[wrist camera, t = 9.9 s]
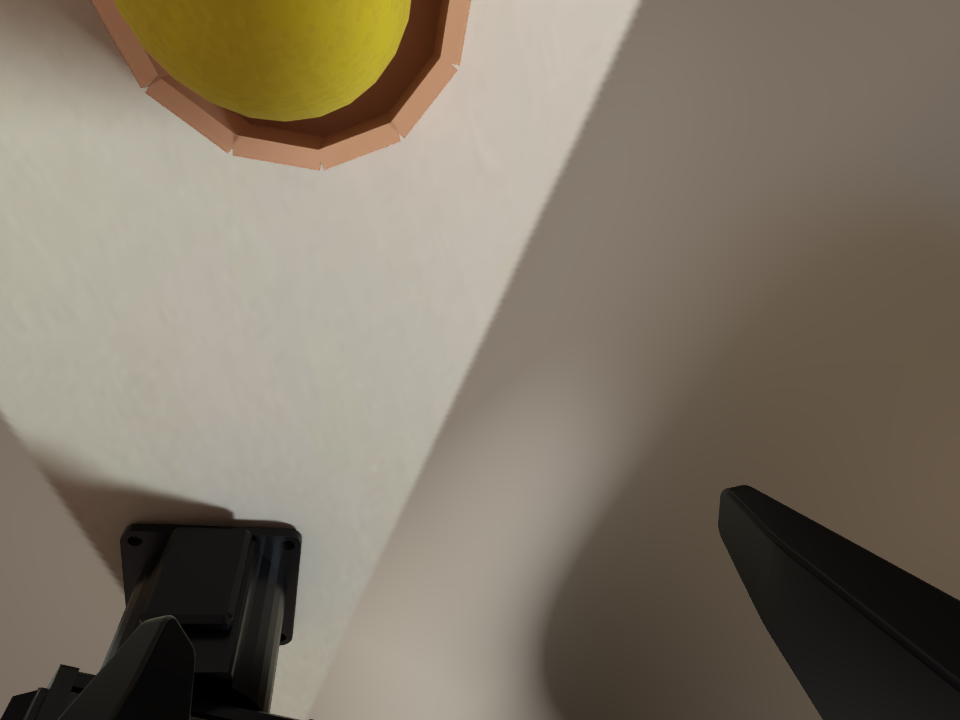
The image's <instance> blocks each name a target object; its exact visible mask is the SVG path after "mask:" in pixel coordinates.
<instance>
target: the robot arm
mask: <svg viewBox="0 0 960 720" xmlns="http://www.w3.org/2000/svg"><path fill="white" fill-rule="evenodd" d="M718 528H719V533H720V536H721V538H722V541H723V543H724V545H725V547H726V549H727V551H728V553H729V555H730V557H731V559H732V561H733V563H734V565H735V567H736V569H737V571H738V573H739V576H740V578H741V580H742V582H743V584H744V586H745V588H746V590H747V592H748V594H749V596H750V598H751V600H752V602H753V604H754V606H755V608H756V610H757V612H758V614H759V616H760V618H761V620H762V622H763V624H764V625H765V627H766V629H767V631H768V632H769V634H770V635H771V637H772V639H773V640H774V642H775V644H776V645H777V647H778V648H779V650H780V652H781V653H782V655H783V656H784V658H785V660H786V661H787V663H788V665H789V666H790V668H791V669H792V671H793V672H794V674H795V676H796V677H797V679H798V680H799V682H800V684H801V685H802V687H803V689H804V690H805V692H806V693H807V695H808V697H809V698H810V700H811V701H812V703H813V704H814V706H815V708H816V709H817V711H818V713H819V714H820V716H821V717H822V719H823V720H960V600H958V599H956V598H954V597H952V596H951V595H948V594H947V593H945V592H943V591H941V590H940V589H938V588H935V587H934V586H932V585H930V584H928V583H927V582H925V581H923V580H921V579H920V578H918V577H916V576H914V575H912V574H910V573H908V572H906V571H905V570H903V569H901V568H899V567H897V566H896V565H894V564H892V563H890V562H888V561H886V560H885V559H883V558H881V557H879V556H877V555H875V554H874V553H872V552H870V551H868V550H866V549H864V548H863V547H861V546H859V545H857V544H855V543H853V542H851V541H850V540H848V539H846V538H844V537H843V536H841V535H839V534H837V533H835V532H833V531H831V530H830V529H828V528H826V527H824V526H822V525H821V524H819V523H817V522H815V521H813V520H811V519H809V518H808V517H806V516H804V515H802V514H800V513H798V512H797V511H795V510H793V509H791V508H789V507H788V506H786V505H784V504H782V503H780V502H778V501H777V500H775V499H773V498H771V497H769V496H768V495H766V494H764V493H762V492H760V491H758V490H757V489H755V488H753V487H751V486H748V485H740V486H736V487H731V488H726V489H724V490H723V491H722V493H721V496H720V507H719V520H718ZM133 536H137V537H140V538H135V537H133ZM285 541H292V542H291V543H287V542H285ZM120 544H121V556H122V568H123V579H124V591H125V602H126V609H125V611H124V614H123V616H122V618H121V621H120V623H119V626H118V628H117V631H116V633H115V636H114V638H113V641H112V643H111V645H110V648H109V650H108V652H107V655H106V657H105V660H104V662H103V665H102V667H101V669H100V671H99V673H98V674H97V675H92V674H87V673H83V672H78V671H79V668H76V667H71V666H66V665H62V664H61V665H60V666H59V668H58V670H57V671H56V673H55V675H54V677H53V678H52V680H51V682H50V683H49V685H48V687H47V688H42V687H41V688H38V690H36V691H32V692H28V693H24V694H20V695H16V696H13V697H12V699H11V701H10V702H9V704H8V706H7V708H6V710H5V712H4V714H3V716H2V717H1V719H0V720H298V719H294V718H289V717H284V716H280V715H275V714H271V713H270V708H271V700H272V693H273V686H274V679H275V672H276V665H277V658H278V651H279V645H285V644H287V643H289V642H290V641H291V640H292V636H293V627H294V617H295V607H296V596H297V586H298V576H299V565H300V555H301V545H302V535H301V534H300V533H299V532H298V531H296V530H294V529H280V528H252V527H224V526H195V525H167V524H131V525H129V526H127V527H126V528H125V530H124V532H123V534H122V536H121V539H120ZM309 720H312V719H309Z"/></svg>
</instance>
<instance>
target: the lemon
mask: <svg viewBox="0 0 960 720" xmlns="http://www.w3.org/2000/svg"><path fill="white" fill-rule="evenodd" d="M113 1H114V3H115V5H116V8H117V9H118V11H119V12H120V14H121V15H122V17H123V18H124V20H125V21H126V23H127V24H128V26H129V27H130V29H131V30H132V32H133V33H134V35H135V36H136V38H137V39H138V41H139V42H140V44H141V45H142V47H143V48H144V49H145V50H146V51H147V52H148V53H149V54H150V55H151V56H152V57H153V58H154V59H155V60H156V61H157V62H158V63H159V64H160V65H161V66H162V67H163V68H164V69H165V70H166V71H167V72H168V73H169V74H170V75H171V76H172V77H173V78H174V79H175V80H177V81H178V82H180V83H181V84H183V85H184V86H186V87H187V88H189V89H190V90H192V91H194V92H195V93H197V94H198V95H200V96H201V97H203V98H204V99H206V100H207V101H209V102H210V103H212V104H215V105H218V106H220V107H223V108H226V109H228V110H231V111H234V112H236V113H239V114H242V115H244V116H247V117H250V118H258V119H267V120H275V121H284V122H286V121H294V120H301V119H308V118H315V117H321V116H323V115H325V114H328V113H330V112H332V111H335V110H337V109H339V108H342V107H344V106H346V105H348V104H350V103H352V102H353V101H354V100H355V99H356V98H358V97H359V96H360V95H361V94H362V93H364V92H365V91H366V90H367V89H368V88H370V87H371V86H372V85H373V84H374V83H376V81H377V80H378V78H379V77H380V76H381V74H382V73H383V71H384V70H385V68H386V67H387V66H388V64H389V63H390V61H391V60H392V58H393V57H394V56H395V54H396V52H397V49H398V47H399V44H400V41H401V39H402V36H403V33H404V31H405V28H406V25H407V23H408V20H409V13H410V5H411V0H113Z"/></svg>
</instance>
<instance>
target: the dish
mask: <svg viewBox="0 0 960 720" xmlns="http://www.w3.org/2000/svg"><path fill="white" fill-rule="evenodd" d="M91 1H92V3H93V5H94V6H95V8H96V10H97V12H98V13H99V15H100V17H101V19H102V20H103V22H104V24H105V26H106V27H107V29H108V31H109V33H110V34H111V36H112V38H113V40H114V41H115V43H116V45H117V47H118V48H119V50H120V52H121V54H122V55H123V57H124V59H125V61H126V62H127V64H128V66H129V68H130V69H131V71H132V73H133V75H134V76H135V78H136V80H137V82H138V83H139V85H140V87H141V88H143V87H147V86H149V88H148V89H147V91H146V92H145V93H146V94H148V95H149V96H151V97H152V98H153V99H155V100H156V101H157V102H159V103H160V104H161V105H163V106H164V107H165V108H167V109H168V110H170V111H171V112H172V113H174V114H175V115H176V116H178V117H179V118H180V119H182V120H183V121H185V122H186V123H187V124H189V125H190V126H191V127H193V128H194V129H195V130H197V131H198V132H200V133H201V134H202V135H204V136H205V137H206V138H208V139H209V140H210V141H212V142H213V143H214V144H216V145H217V146H219V147H220V148H221V149H223V150H224V151H225V152H227V153H229V152H230V151H231V150H232V149H233V156H239V157H245V158H251V159H256V160H262V161H268V162H274V163H280V164H285V165H291V166H297V167H303V168H308V169H314V170H320V168H321V164H322V166H323V168H324V170H326V169H328V168H331V167H334V166H336V165H339V164H341V163H344V162H347V161H349V160H352V159H355V158H357V157H360V156H363V155H365V154H368V153H371V152H373V151H376V150H379V149H381V148H384V147H387V146H389V145H392V144H395V143H397V142H400V141H401V140H400V137H399V134H400V135H401V136H402V137H403V138H405V137H406V136H407V135H408V133H409V132H410V131H411V129H412V128H413V127H414V126H415V124H416V123H417V122H418V120H419V119H420V118H421V117H422V115H423V114H424V113H425V111H426V110H427V109H428V108H429V106H430V105H431V104H432V103H433V101H434V100H435V99H436V97H437V96H438V95H439V94H440V92H441V91H442V90H443V88H444V87H445V86H446V85H447V83H448V82H449V81H450V79H451V78H452V77H453V76H454V74H455V73H456V72H457V69H456V68H455V67H454V66H453V65H452V64H455V65H460V61H461V55H462V50H463V44H464V38H465V32H466V27H467V21H468V15H469V9H470V3H471V0H411V5H410V13H409V20H408V23H407V25H406V28H405V31H404V33H403V36H402V39H401V41H400V44H399V47H398V49H397V52H396V54H395V56H394V57H393V58H392V60H391V61H390V63H389V64H388V66H387V67H386V68H385V70H384V71H383V73H382V74H381V76H380V77H379V78H378V80H377V81H376V83H374V84H373V85H372V86H371V87H370V88H368V89H367V90H366V91H365V92H364V93H362V94H361V95H360V96H359V97H358V98H356V99H355V100H354V101H353V102H352V103H350V104H348V105H346V106H344V107H342V108H339V109H337V110H335V111H332V112H330V113H328V114H325V115H323V116H321V117H315V118H308V119H301V120H294V121H286V122H284V121H275V120H267V119H258V118H250V117H247V116H244V115H242V114H239V113H236V112H234V111H231V110H228V109H226V108H223V107H220V106H218V105H215V104H212V103H210V102H209V101H207V100H206V99H204V98H203V97H201V96H200V95H198V94H197V93H195V92H194V91H192V90H190V89H189V88H187V87H186V86H184V85H183V84H181V83H180V82H178V81H177V80H175V79H174V78H173V77H172V76H171V75H170V74H169V73H168V72H167V71H166V70H165V69H164V68H163V67H162V66H161V65H160V64H159V63H158V62H157V61H156V60H155V59H154V58H153V57H152V56H151V55H150V54H149V53H148V52H147V51H146V50H145V49H144V48H143V47H142V45H141V44H140V42H139V41H138V39H137V38H136V36H135V35H134V33H133V32H132V30H131V29H130V27H129V26H128V24H127V23H126V21H125V20H124V18H123V17H122V15H121V14H120V12H119V11H118V9H117V8H116V5H115V3H114V1H113V0H91Z"/></svg>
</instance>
